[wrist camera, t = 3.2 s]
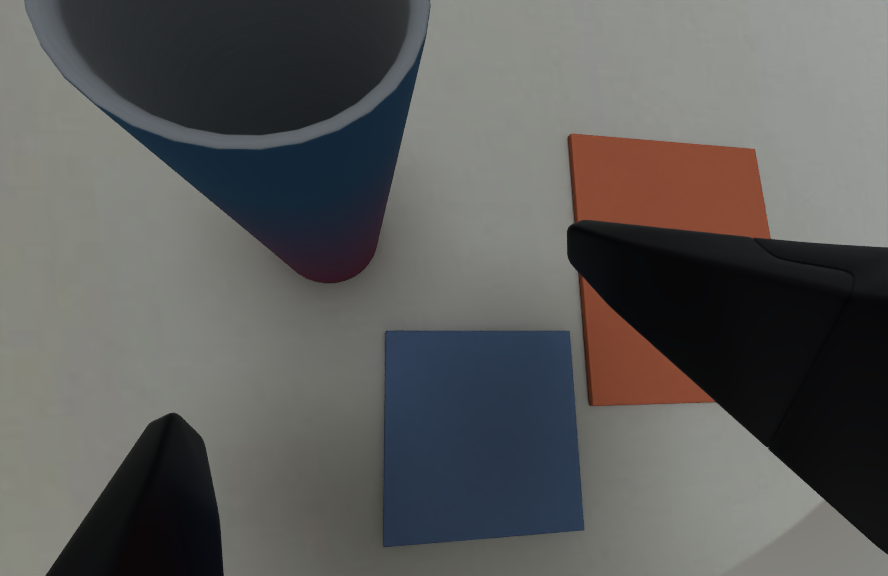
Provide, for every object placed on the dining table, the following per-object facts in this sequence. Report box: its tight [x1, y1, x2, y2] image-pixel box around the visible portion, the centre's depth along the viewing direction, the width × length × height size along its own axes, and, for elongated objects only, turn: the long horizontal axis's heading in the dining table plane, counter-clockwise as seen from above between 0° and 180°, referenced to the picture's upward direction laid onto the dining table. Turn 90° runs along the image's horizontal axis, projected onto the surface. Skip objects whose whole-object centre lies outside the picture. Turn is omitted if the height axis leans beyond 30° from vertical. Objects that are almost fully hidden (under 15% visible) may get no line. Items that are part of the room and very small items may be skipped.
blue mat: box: [383, 331, 584, 547], centre depth 21 cm, size 10×10×1 cm
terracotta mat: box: [568, 134, 771, 406], centre depth 25 cm, size 16×13×1 cm
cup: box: [24, 0, 430, 283], centre depth 15 cm, size 7×7×15 cm
